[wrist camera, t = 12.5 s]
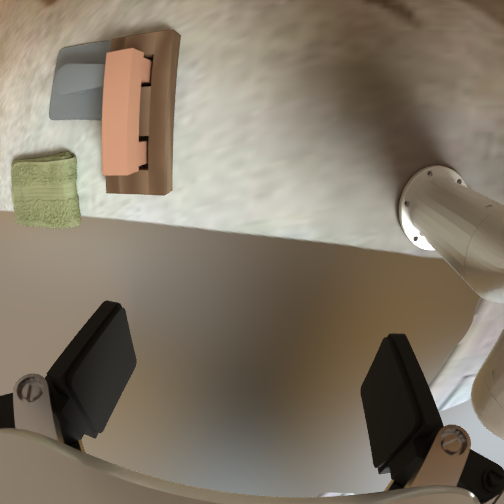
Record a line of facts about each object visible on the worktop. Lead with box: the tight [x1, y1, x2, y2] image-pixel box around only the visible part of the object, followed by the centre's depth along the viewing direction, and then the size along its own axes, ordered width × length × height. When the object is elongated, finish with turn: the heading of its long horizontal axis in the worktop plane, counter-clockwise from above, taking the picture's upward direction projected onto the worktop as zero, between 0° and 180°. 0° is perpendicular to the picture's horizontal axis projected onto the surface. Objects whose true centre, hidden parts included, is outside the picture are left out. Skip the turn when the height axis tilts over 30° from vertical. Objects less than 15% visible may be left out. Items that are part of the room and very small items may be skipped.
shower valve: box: [49, 40, 112, 120], centre depth 30 cm, size 12×6×15 cm
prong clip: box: [102, 48, 153, 176], centre depth 31 cm, size 4×15×8 cm, turn 176°
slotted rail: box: [106, 30, 181, 195], centre depth 33 cm, size 9×22×3 cm, turn 176°
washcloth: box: [11, 152, 81, 229], centre depth 39 cm, size 13×18×3 cm
